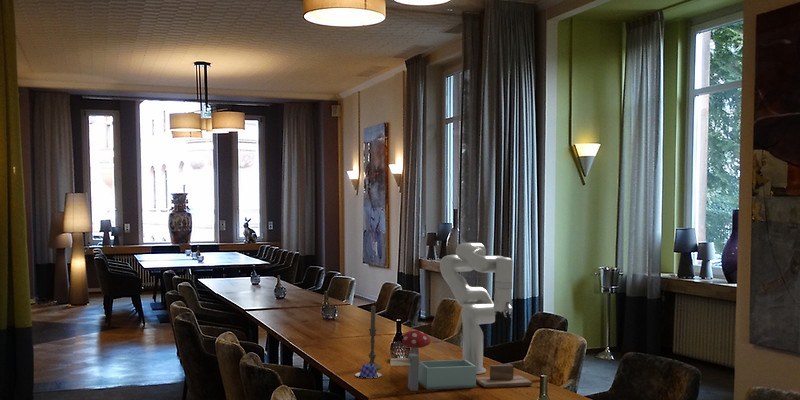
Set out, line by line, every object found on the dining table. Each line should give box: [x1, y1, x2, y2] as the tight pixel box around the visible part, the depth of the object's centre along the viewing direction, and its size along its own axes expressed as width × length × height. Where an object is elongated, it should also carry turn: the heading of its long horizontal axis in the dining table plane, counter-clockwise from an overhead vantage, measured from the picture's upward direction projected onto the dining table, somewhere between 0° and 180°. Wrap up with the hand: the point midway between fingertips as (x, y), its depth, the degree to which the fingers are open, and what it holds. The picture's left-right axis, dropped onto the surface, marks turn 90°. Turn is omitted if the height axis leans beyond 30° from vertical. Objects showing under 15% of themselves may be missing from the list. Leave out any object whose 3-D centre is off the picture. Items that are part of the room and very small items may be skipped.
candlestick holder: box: [366, 304, 383, 371], centre depth 351 cm, size 9×9×30 cm
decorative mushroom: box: [401, 329, 432, 357], centre depth 371 cm, size 16×16×15 cm
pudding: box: [354, 363, 383, 379], centre depth 335 cm, size 12×12×5 cm
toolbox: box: [407, 353, 477, 392], centre depth 320 cm, size 15×29×14 cm, turn 104°
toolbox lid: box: [476, 363, 533, 389], centre depth 325 cm, size 14×22×8 cm, turn 104°
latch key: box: [389, 357, 411, 367], centre depth 311 cm, size 2×12×2 cm, turn 104°
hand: (502, 324), depth 326 cm, fingers open, 9 cm apart
